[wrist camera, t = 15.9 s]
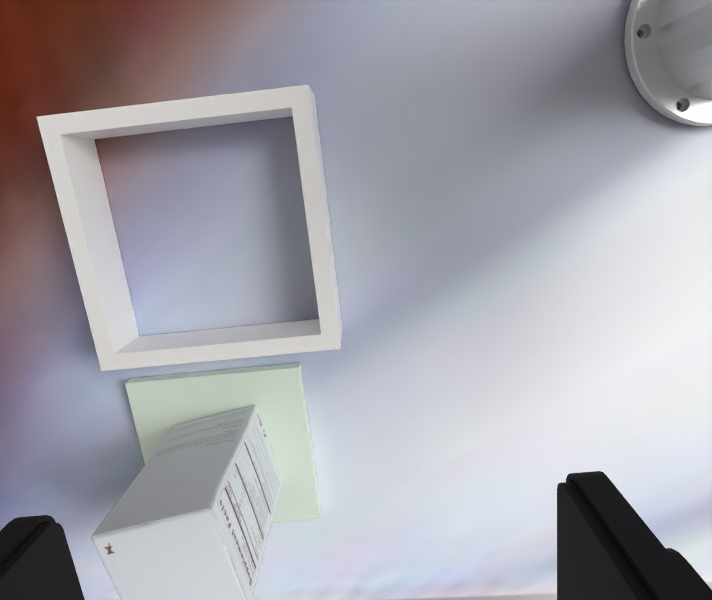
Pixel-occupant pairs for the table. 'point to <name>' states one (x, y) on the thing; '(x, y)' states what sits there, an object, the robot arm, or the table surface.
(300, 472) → the pad
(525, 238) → the table surface
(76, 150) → the bin
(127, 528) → the supplement box
